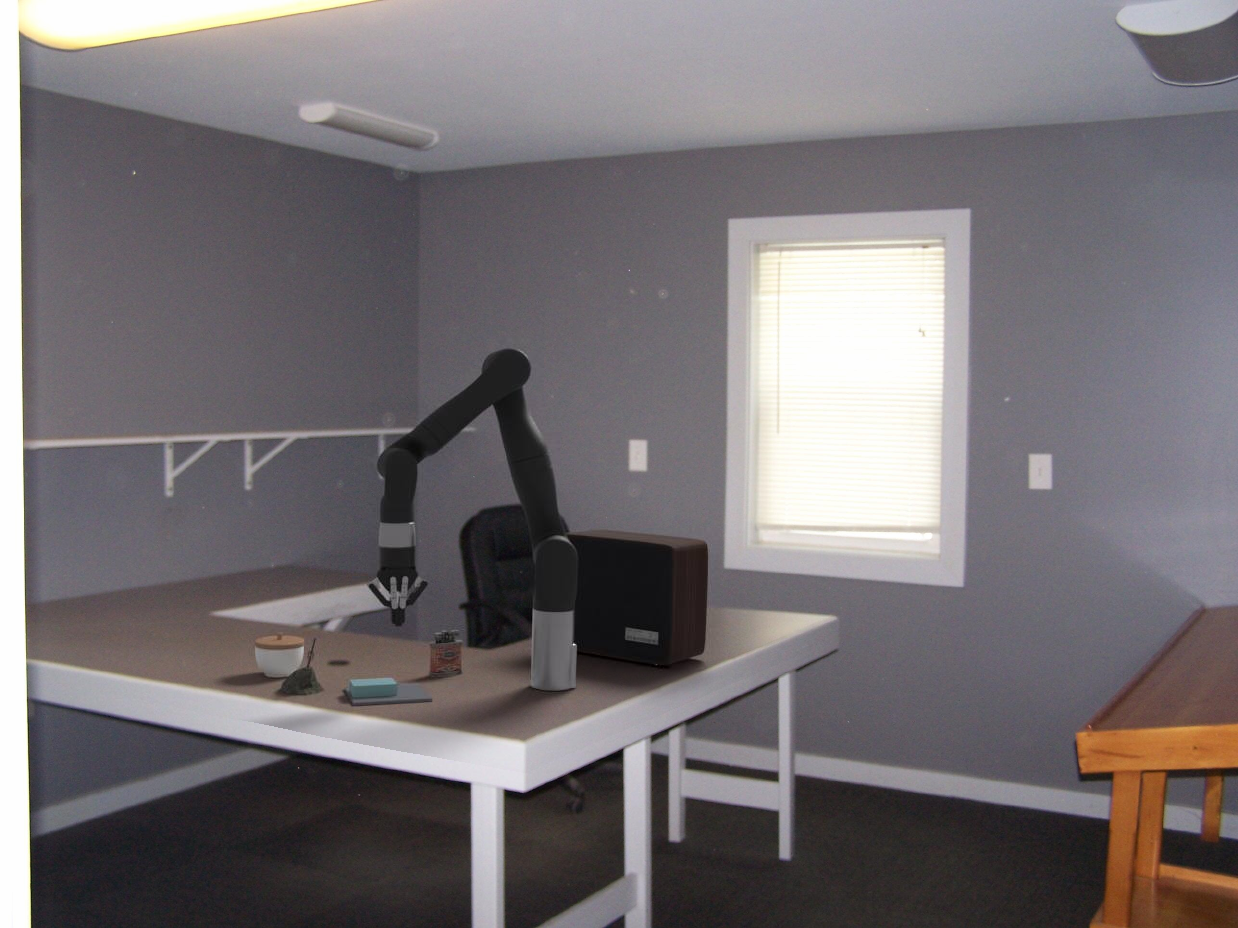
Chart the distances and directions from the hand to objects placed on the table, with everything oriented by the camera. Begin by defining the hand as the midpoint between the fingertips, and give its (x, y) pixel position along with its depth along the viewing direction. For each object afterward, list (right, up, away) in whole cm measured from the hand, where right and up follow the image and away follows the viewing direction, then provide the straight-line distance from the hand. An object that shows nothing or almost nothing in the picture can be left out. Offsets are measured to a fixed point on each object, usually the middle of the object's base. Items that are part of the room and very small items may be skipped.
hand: (397, 625), depth 256 cm
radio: (+49, -14, +50) cm, 71 cm away
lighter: (+7, -14, +22) cm, 27 cm away
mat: (-2, -15, 0) cm, 15 cm away
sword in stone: (-21, -15, +3) cm, 26 cm away
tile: (-1, -13, +1) cm, 13 cm away
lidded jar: (-30, -13, +17) cm, 37 cm away
